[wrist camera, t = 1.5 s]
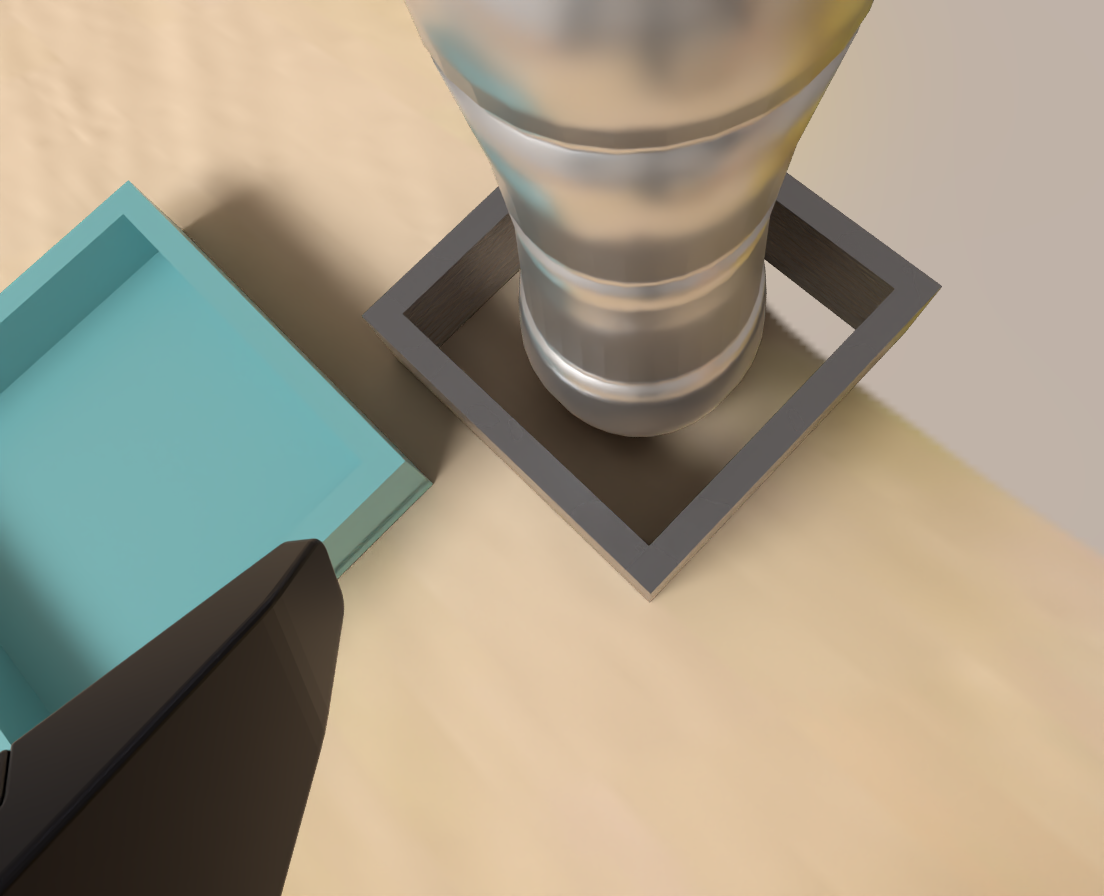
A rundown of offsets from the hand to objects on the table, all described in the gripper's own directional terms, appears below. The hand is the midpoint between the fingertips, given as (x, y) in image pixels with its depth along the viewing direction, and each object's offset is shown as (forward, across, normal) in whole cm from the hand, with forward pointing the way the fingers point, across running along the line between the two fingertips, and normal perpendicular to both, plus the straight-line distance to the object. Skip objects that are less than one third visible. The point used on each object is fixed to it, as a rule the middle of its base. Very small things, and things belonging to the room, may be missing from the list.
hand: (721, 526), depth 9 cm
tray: (+13, +15, +6) cm, 21 cm away
